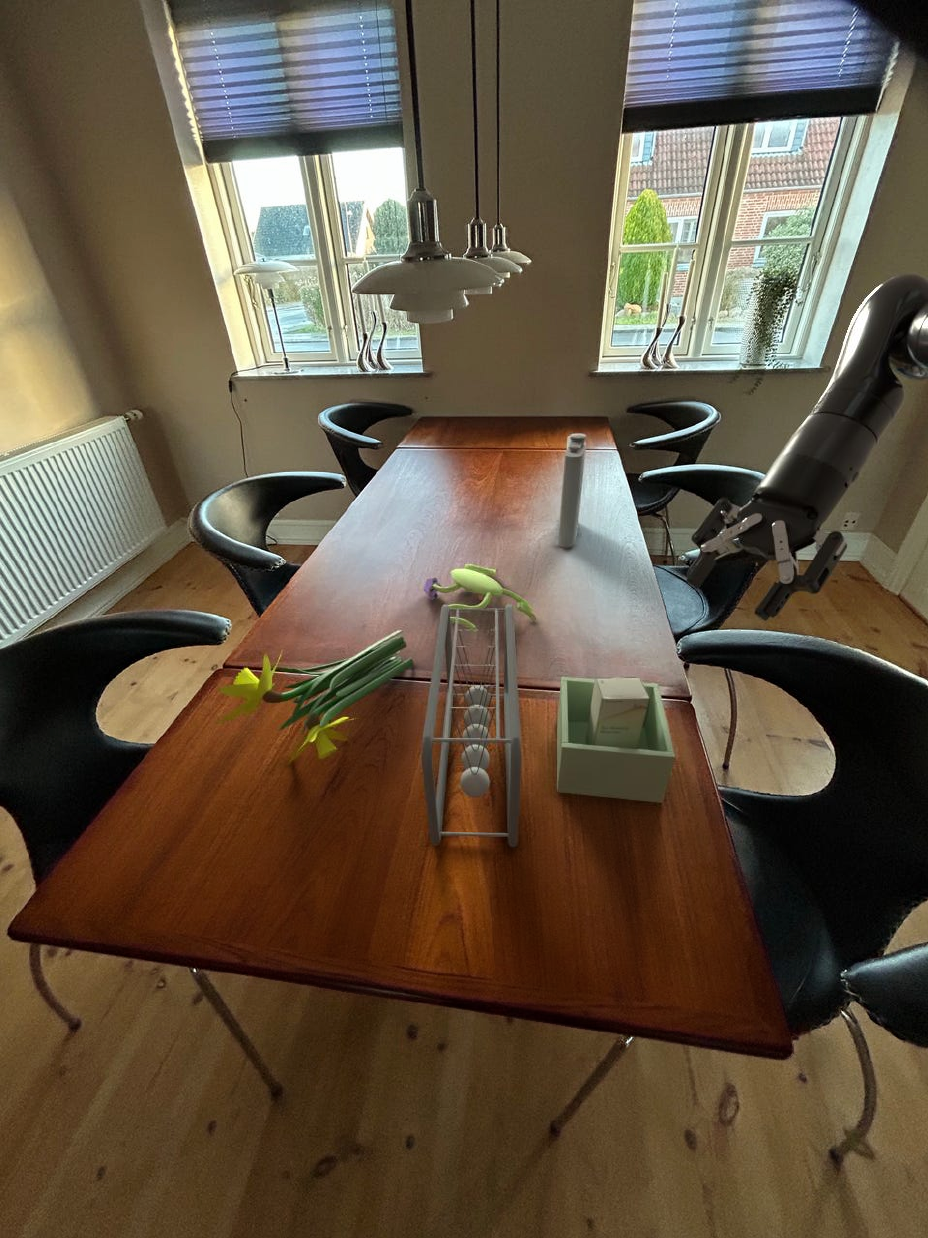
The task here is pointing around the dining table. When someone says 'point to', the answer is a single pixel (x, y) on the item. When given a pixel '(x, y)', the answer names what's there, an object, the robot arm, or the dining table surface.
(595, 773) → the open square storage box
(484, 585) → the figurine
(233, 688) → the daffodil flowers
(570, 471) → the flask
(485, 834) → the newton's cradle
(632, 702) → the cosmetic box
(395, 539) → the dining table surface
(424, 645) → the dining table surface
